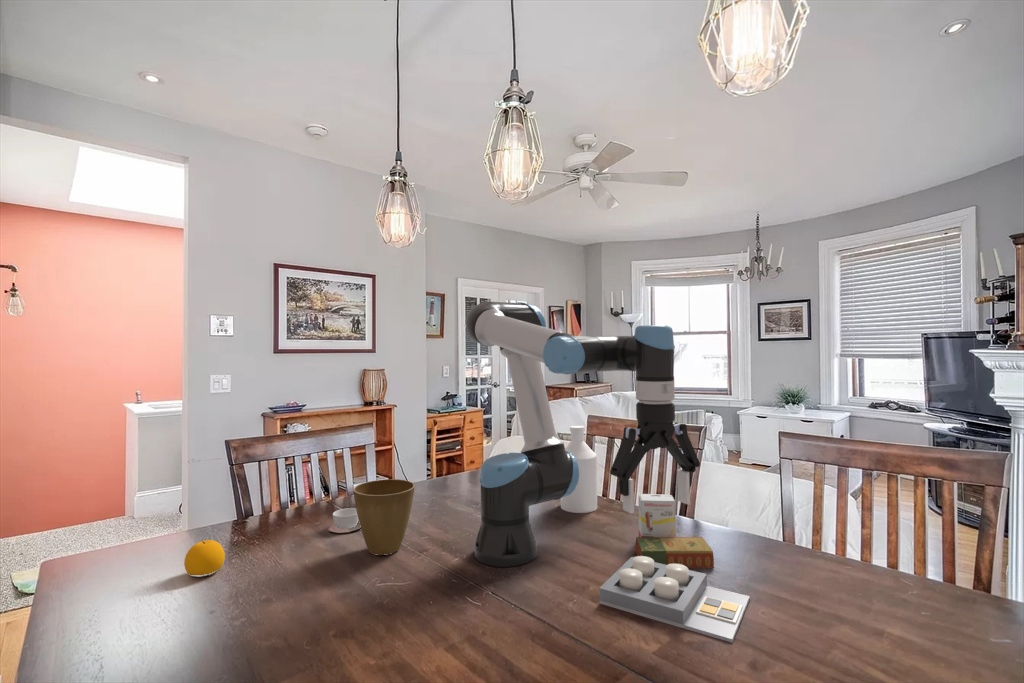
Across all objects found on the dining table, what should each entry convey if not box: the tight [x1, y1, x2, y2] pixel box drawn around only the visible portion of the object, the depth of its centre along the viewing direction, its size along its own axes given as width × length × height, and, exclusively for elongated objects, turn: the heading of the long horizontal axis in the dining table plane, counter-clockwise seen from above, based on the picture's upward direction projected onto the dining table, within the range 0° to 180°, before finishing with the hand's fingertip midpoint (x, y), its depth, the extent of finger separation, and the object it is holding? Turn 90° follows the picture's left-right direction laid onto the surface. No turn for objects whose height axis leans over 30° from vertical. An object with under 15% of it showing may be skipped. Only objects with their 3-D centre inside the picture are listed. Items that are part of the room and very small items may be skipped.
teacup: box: [332, 507, 359, 529], centre depth 141 cm, size 10×10×5 cm
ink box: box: [638, 493, 677, 537], centre depth 125 cm, size 9×5×12 cm, turn 83°
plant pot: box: [352, 478, 415, 555], centre depth 125 cm, size 15×15×16 cm
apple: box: [184, 539, 226, 576], centre depth 113 cm, size 8×8×8 cm
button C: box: [654, 577, 679, 602], centre depth 95 cm, size 4×4×3 cm
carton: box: [634, 536, 715, 569], centre depth 116 cm, size 8×16×4 cm, turn 85°
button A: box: [619, 568, 643, 592], centre depth 99 cm, size 4×4×3 cm
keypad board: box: [599, 556, 751, 643], centre depth 97 cm, size 24×17×3 cm
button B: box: [632, 556, 654, 578], centre depth 104 cm, size 4×4×3 cm
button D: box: [666, 564, 690, 586], centre depth 100 cm, size 4×4×3 cm
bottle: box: [559, 425, 598, 514], centre depth 156 cm, size 12×12×25 cm
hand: (656, 507), depth 101 cm, fingers open, 13 cm apart
